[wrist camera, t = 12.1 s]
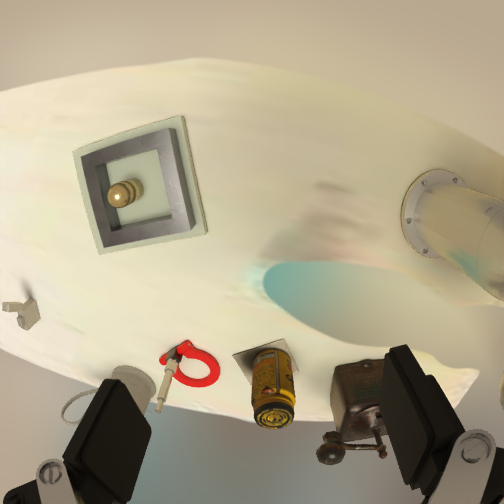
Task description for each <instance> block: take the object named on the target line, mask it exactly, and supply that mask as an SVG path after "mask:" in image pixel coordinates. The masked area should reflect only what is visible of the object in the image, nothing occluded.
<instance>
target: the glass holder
mask: <svg viewBox="0 0 504 504" xmlns="http://www.w3.org/2000/svg"><path fill="white" fill-rule="evenodd" d="M112 379H119V380H121V382H122V383H124V384H125V385H126V387H127V388H128V390H129V392H130V394H131V395H132V397H133V399H134V401H135V402H136V404H137V406H138V407H139V409H140V411H141V412H142V414H143V415H144V414H145V411H146V409H147V406H148V403H149V401H150V398H151V397H153V396H154V394H155V392H156V387H155V384H154V382H153V380H152V379H151V378H150V377H149V376H148V375H147V374H146V373H144V372H143V371H141V370H140V369H137V368H135V367H132V366H119V367H117V368H115V369H114V371H113V373H112ZM98 389H99V388H98ZM98 389H94V390H90V391H86V392H82V393H80V394H78V395H76V396H75V397H73V398H72V399H70V400H69V401H68V402H67V403H66V405H65V406H64V407H63V409H62V412H61V417H62V419H63V421H64V422H65V423H66V424H68V425H72V426H75V425H79V423H80V422H81V420H82V418H83V416H84V415H83V416H82V418H81V419H80V420H78V421H76V422H68V421H66V420H65V419H64V418H63V414H64V412H65V410H66V409H67V407H68V406H69V405H70V404H71V403H72V402H74V401H75V400H76V399H78V398H80V397H82V396H85V395H88V394H92V393H97V391H98ZM84 414H85V413H84Z"/></svg>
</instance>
